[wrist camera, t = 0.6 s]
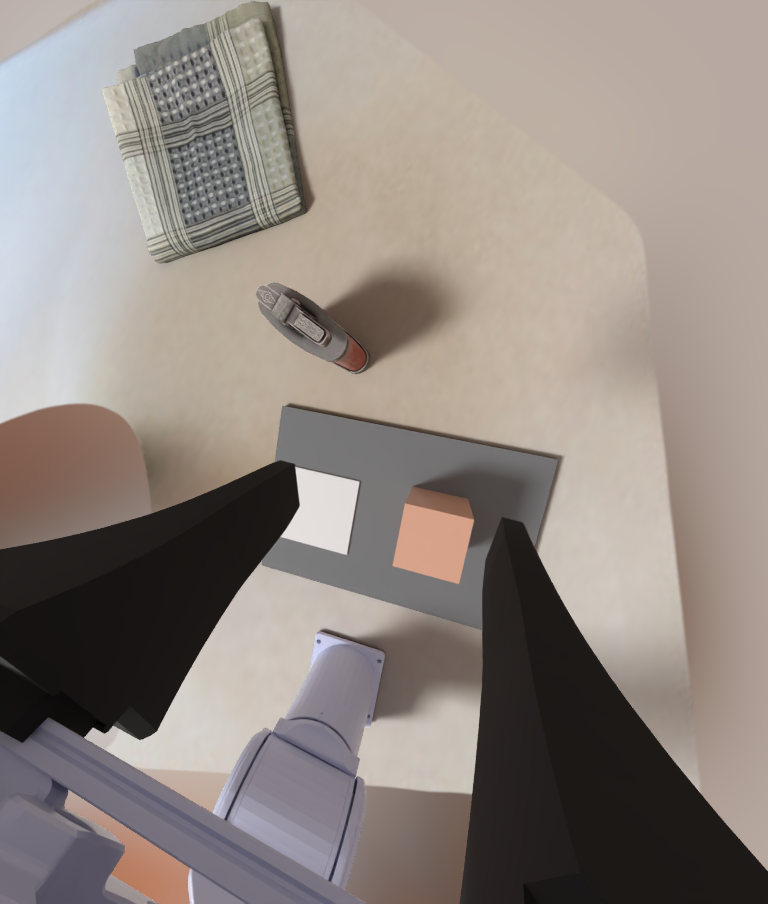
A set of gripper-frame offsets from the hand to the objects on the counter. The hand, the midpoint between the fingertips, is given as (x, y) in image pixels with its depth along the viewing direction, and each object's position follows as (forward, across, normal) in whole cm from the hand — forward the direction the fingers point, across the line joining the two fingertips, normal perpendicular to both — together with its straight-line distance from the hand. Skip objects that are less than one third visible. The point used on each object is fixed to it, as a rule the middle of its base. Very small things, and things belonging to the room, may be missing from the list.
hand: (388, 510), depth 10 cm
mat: (+15, +3, +15) cm, 21 cm away
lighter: (+21, +12, +1) cm, 24 cm away
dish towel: (+28, +28, -15) cm, 42 cm away
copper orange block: (+15, -1, +14) cm, 20 cm away
